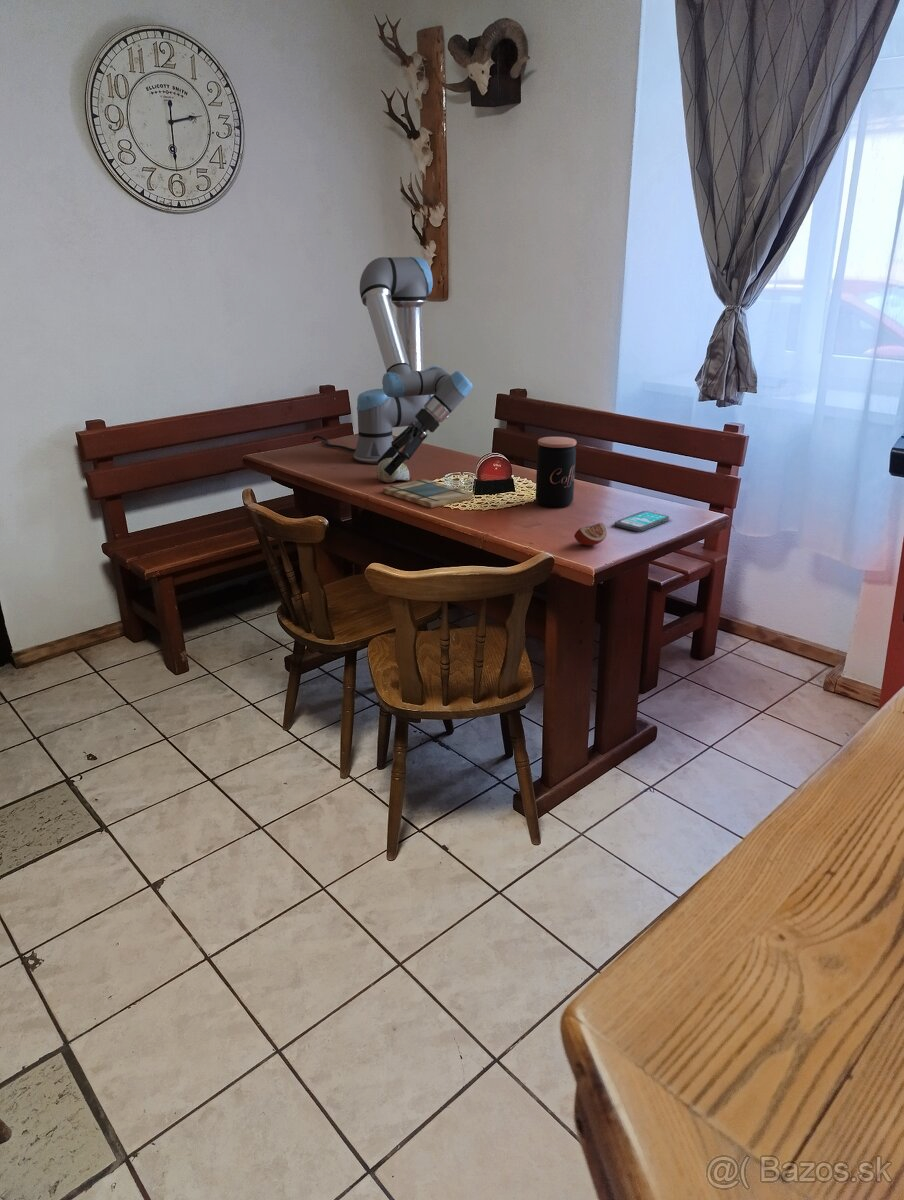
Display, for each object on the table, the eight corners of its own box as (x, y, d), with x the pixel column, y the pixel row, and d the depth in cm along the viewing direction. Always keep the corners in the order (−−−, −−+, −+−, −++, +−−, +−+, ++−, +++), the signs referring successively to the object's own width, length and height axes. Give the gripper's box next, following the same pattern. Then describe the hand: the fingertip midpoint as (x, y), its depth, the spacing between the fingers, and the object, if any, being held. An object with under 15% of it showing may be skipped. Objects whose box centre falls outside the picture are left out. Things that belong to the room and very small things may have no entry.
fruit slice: (591, 538, 203) (592, 518, 201) (612, 544, 198) (613, 525, 196) (568, 544, 198) (569, 525, 196) (589, 552, 193) (590, 532, 191)
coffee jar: (548, 510, 225) (551, 445, 218) (528, 501, 234) (530, 438, 227) (580, 505, 229) (584, 442, 222) (559, 496, 238) (562, 435, 231)
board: (383, 492, 242) (382, 487, 241) (423, 483, 252) (423, 478, 251) (431, 508, 227) (431, 502, 226) (472, 497, 237) (472, 492, 236)
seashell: (411, 473, 261) (410, 449, 253) (407, 494, 254) (406, 469, 247) (380, 471, 261) (378, 446, 253) (375, 491, 255) (373, 467, 247)
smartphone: (612, 521, 212) (644, 509, 221) (612, 525, 212) (643, 513, 222) (640, 528, 206) (671, 516, 216) (640, 532, 206) (671, 519, 216)
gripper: (449, 430, 242) (399, 485, 244) (431, 417, 262) (385, 467, 265) (432, 413, 239) (381, 469, 241) (415, 401, 259) (368, 452, 261)
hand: (383, 468), depth 253 cm, fingers open, 10 cm apart
